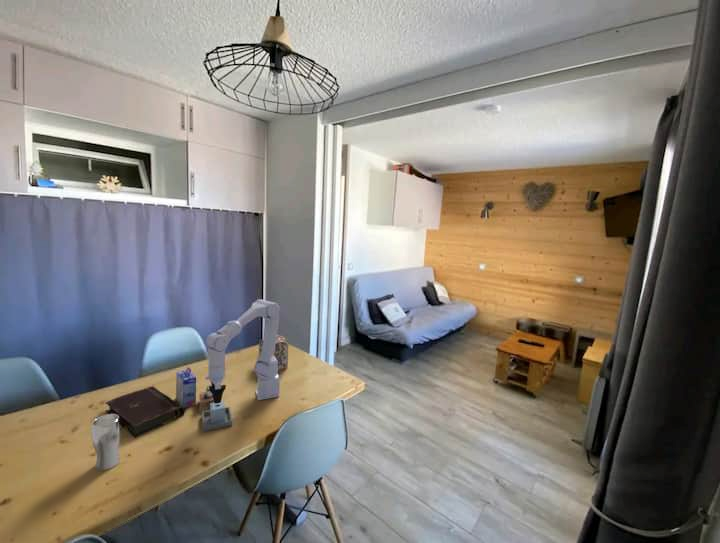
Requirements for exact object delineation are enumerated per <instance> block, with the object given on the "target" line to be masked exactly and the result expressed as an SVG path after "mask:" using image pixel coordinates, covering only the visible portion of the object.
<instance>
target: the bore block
mask: <svg viewBox="0 0 720 543" xmlns="http://www.w3.org/2000/svg"><path fill="white" fill-rule="evenodd" d="M198 395H199V397H198V398H199V400H198V401H199V412H201V413H202V412H205V411H210V403H214V400H213V398H209V399H206V391H203V392H201V391H200V392H199V394H198Z"/></svg>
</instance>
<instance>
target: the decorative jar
mask: <svg viewBox="0 0 720 543" xmlns="http://www.w3.org/2000/svg"><path fill="white" fill-rule="evenodd" d="M263 340H264V337H263V338H262V339H261V340H260V341H259V342H258V357H259V356H261V354H262V347H263ZM274 356H275V358H276V359H277V361H278V371H280V370H284V369H288V363H289V343H288V341H287V340H286V338H285V337H284V336H282V335H279V334H278V333H277V338H276V345H275V352H274Z"/></svg>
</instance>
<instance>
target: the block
mask: <svg viewBox="0 0 720 543" xmlns="http://www.w3.org/2000/svg"><path fill="white" fill-rule="evenodd" d="M225 408H226V405H225V400H224V401H223V400H221V403H216V404H215V403H210V410H209V411H210V420H211V424H216V423H220V422H225Z"/></svg>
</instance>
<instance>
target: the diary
mask: <svg viewBox="0 0 720 543" xmlns="http://www.w3.org/2000/svg"><path fill="white" fill-rule="evenodd" d="M105 404H106V405H107V406H108V407H109V408H108V409H105V412H106V413H107V414H117V415H118V416H119V421H120V427H121V428H123V429H126V430H127V432H128V433H129V435H130V436H131V437H133V439H136V438H138V437H140V436H142V435H144V434H146V433H149V432H151V431H154V430H156V429H158V428H160V427H162V426H164V424H165V423H167V422H169V421H172V420H174V419H175V418H177V419H178V418H179V415H181V416H182V417H183V416H185V414H186V410H185V407H183V406H181V405H180V403H179V402H176V401H175V400H174V399H172V398H171V397H169V396H168V395H166V394H165V393H163V392H161V391H160V390H159V389H158V388H156V387H155V386H154V385H152V386H148V387H146V388H142V389H139V390H136V391H133V392H129V393H126V394H123V395H120V396H117V397H115V398H112V399H110V400H107V401H106V402H105Z"/></svg>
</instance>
